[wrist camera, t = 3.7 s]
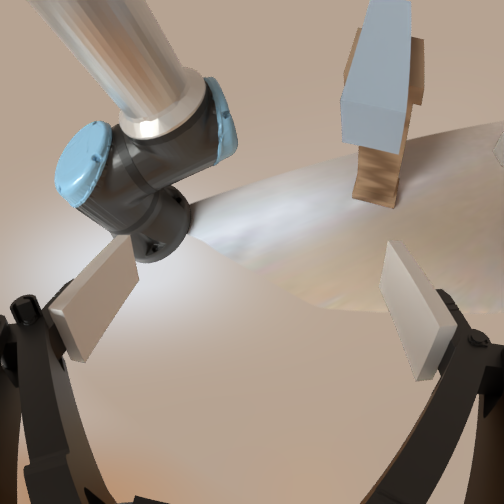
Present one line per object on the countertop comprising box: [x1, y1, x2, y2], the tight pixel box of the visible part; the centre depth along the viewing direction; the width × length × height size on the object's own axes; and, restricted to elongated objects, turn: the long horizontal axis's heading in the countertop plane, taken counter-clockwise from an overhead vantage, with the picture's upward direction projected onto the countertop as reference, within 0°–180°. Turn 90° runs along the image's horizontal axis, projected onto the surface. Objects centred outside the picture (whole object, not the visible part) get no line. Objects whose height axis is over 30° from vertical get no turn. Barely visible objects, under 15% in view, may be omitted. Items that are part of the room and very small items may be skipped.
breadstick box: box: [340, 0, 411, 155], centre depth 20 cm, size 4×18×4 cm, turn 158°
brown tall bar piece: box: [344, 28, 424, 209], centre depth 35 cm, size 7×9×28 cm
